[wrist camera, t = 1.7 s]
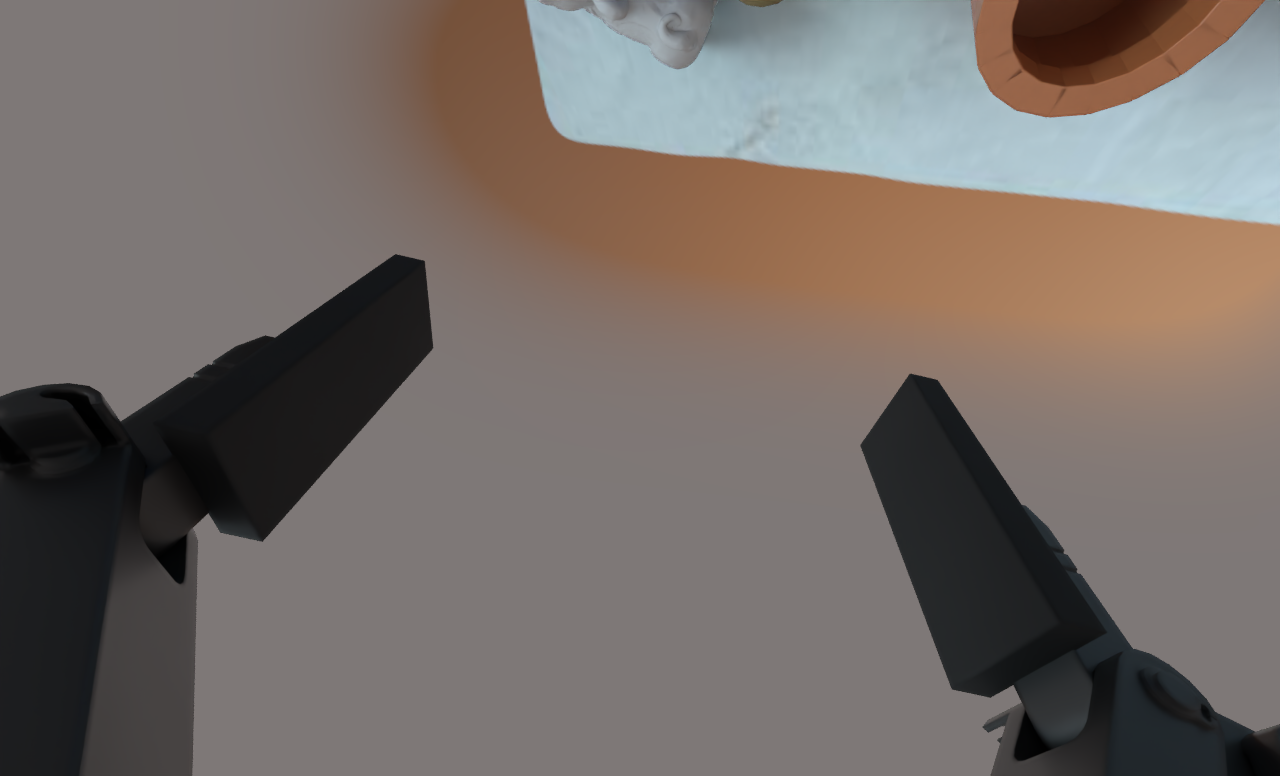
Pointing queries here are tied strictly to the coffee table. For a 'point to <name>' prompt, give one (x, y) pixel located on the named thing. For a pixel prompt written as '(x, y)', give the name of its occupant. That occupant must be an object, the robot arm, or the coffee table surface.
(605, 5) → the dog figurine
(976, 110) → the coffee table surface
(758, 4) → the olive pawn
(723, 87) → the coffee table surface
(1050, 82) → the orange pencil cup
